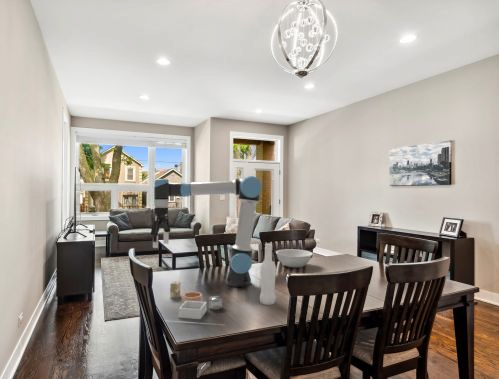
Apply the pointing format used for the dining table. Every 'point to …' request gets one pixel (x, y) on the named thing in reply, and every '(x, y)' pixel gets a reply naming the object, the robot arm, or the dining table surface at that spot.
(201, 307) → the tray white
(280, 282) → the dining table surface
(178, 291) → the block
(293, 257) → the bowl
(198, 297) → the terracotta cup
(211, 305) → the tin
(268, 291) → the bottle
